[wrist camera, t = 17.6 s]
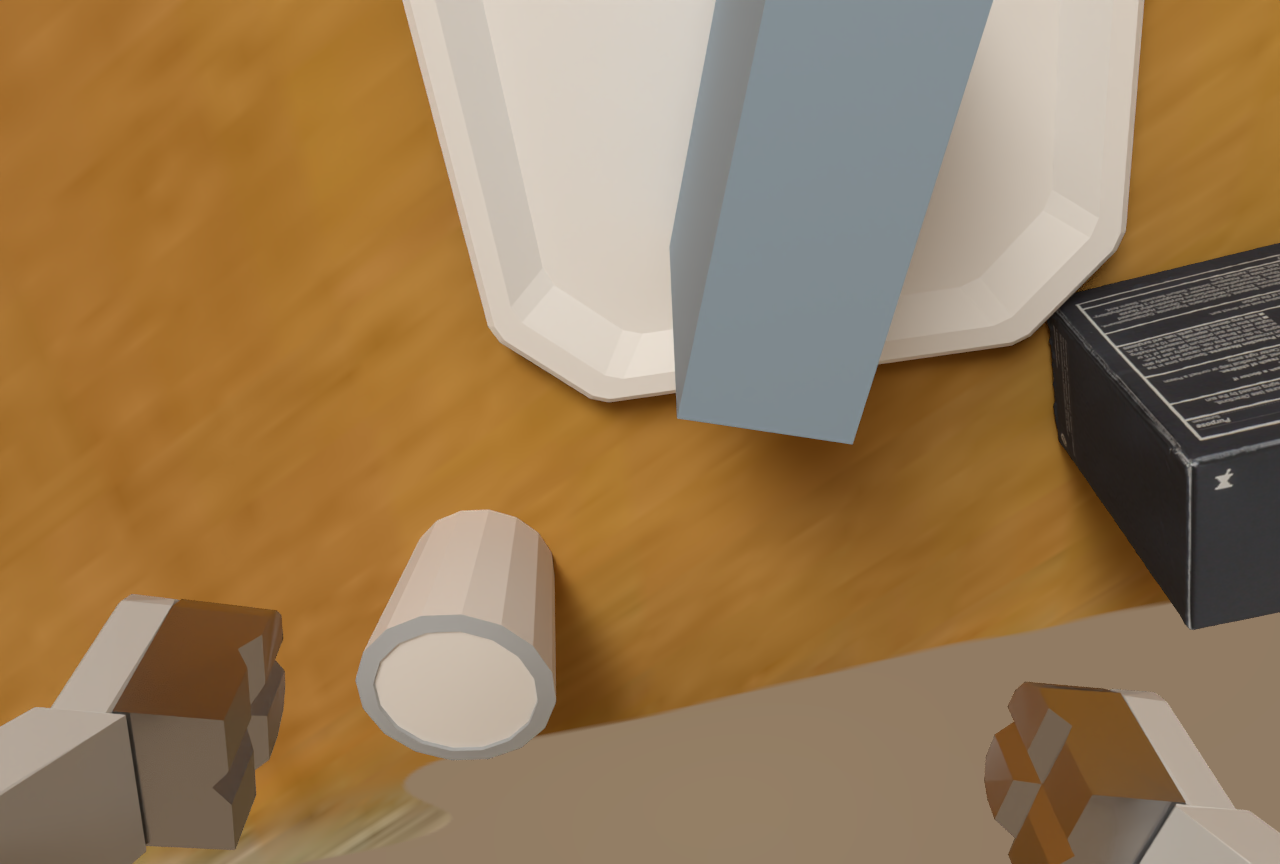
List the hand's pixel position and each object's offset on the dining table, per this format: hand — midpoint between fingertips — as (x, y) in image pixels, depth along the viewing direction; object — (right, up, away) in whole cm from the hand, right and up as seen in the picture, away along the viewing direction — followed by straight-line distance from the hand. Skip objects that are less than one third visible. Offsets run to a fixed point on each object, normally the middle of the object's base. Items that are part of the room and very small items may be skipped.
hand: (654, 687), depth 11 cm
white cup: (-6, -2, +30) cm, 30 cm away
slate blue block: (+4, +13, +18) cm, 23 cm away
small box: (+20, +6, +24) cm, 32 cm away
